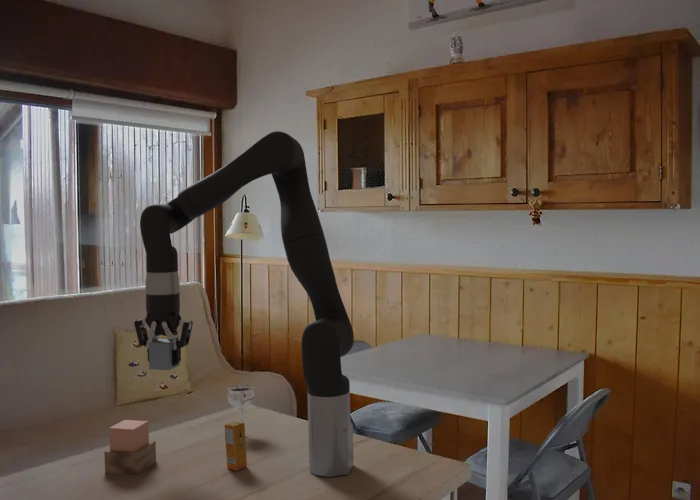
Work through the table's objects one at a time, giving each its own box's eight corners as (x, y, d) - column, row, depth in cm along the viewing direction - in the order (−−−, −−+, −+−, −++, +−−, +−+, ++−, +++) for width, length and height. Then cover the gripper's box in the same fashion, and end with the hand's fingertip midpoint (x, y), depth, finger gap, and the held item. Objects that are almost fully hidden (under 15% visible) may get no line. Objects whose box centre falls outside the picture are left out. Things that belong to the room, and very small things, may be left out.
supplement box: (236, 463, 149) (235, 420, 148) (247, 467, 146) (246, 422, 146) (225, 468, 146) (224, 423, 145) (236, 471, 144) (234, 426, 143)
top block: (148, 442, 150) (148, 421, 150) (134, 452, 144) (133, 429, 144) (125, 441, 151) (124, 419, 151) (110, 450, 145) (109, 427, 145)
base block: (156, 462, 151) (155, 441, 151) (138, 476, 143) (137, 453, 143) (124, 460, 153) (123, 439, 152) (105, 474, 145) (104, 451, 145)
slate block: (179, 365, 154) (179, 339, 154) (169, 370, 149) (168, 344, 149) (160, 364, 155) (159, 339, 155) (149, 369, 150) (148, 343, 150)
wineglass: (223, 436, 167) (222, 390, 167) (237, 428, 173) (235, 383, 173) (247, 439, 165) (245, 392, 164) (259, 431, 171) (258, 385, 171)
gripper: (198, 290, 153) (200, 362, 154) (143, 288, 156) (144, 359, 157) (183, 294, 146) (185, 369, 147) (125, 292, 149) (127, 366, 150)
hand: (164, 364), depth 152 cm, fingers closed on slate block, 5 cm apart
